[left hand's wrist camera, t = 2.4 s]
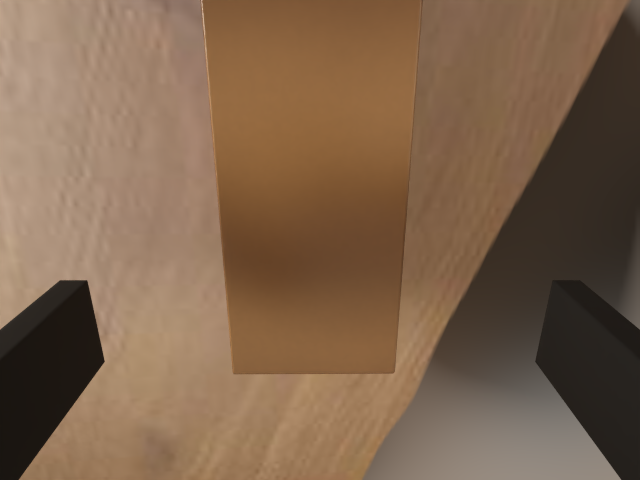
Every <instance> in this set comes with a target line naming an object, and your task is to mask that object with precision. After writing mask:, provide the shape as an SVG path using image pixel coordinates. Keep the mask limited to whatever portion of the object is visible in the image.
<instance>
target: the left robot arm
mask: <svg viewBox="0 0 640 480" xmlns="http://www.w3.org/2000/svg"><path fill="white" fill-rule="evenodd" d="M104 362H105V361H104V356H103V352H102V347H101V342H100V338H99V333H98V328H97V324H96V319H95V314H94V310H93V305H92V300H91V296H90V291H89V286H88V282H87V280H60V281H59V282H58V283H56V284H55V285H54V286H53V287H52V288H50V289H49V290H48V291H47V292H45V293H44V294H43V295H42V296H41V297H39V298H38V299H37V300H36V301H35V302H33V303H32V304H31V305H30V306H28V307H27V308H26V309H25V310H24V311H22V312H21V313H20V314H19V315H18V316H16V317H15V318H14V319H13V320H11V321H10V322H9V323H8V324H7V325H5V326H4V327H3V328H2V329H1V330H0V480H19V478H20V477H21V476H22V474H23V473H24V472H25V470H26V469H27V467H28V466H29V465H30V463H31V462H32V461H33V459H34V458H35V456H36V455H37V454H38V452H39V451H40V450H41V448H42V447H43V445H44V444H45V443H46V441H47V440H48V439H49V437H50V436H51V435H52V433H53V432H54V430H55V429H56V428H57V426H58V425H59V424H60V422H61V421H62V419H63V418H64V417H65V415H66V414H67V413H68V411H69V410H70V408H71V407H72V406H73V404H74V403H75V402H76V400H77V399H78V398H79V396H80V395H81V393H82V392H83V391H84V389H85V388H86V387H87V385H88V384H89V382H90V381H91V380H92V378H93V377H94V376H95V374H96V373H97V371H98V370H99V369H100V367H101V366H102V365H103V363H104ZM535 362H536V363H537V365H538V366H539V367H540V369H541V370H542V371H543V373H544V374H545V376H546V377H547V378H548V380H549V381H550V382H551V384H552V385H553V386H554V388H555V389H556V391H557V392H558V393H559V395H560V396H561V397H562V399H563V400H564V402H565V403H566V404H567V406H568V407H569V408H570V410H571V411H572V413H573V414H574V415H575V417H576V418H577V419H578V421H579V422H580V424H581V425H582V426H583V428H584V429H585V430H586V432H587V433H588V435H589V436H590V437H591V439H592V440H593V441H594V443H595V444H596V445H597V447H598V448H599V450H600V451H601V452H602V454H603V455H604V456H605V458H606V459H607V461H608V462H609V463H610V465H611V466H612V467H613V469H614V470H615V472H616V473H617V474H618V476H619V477H620V478H621V480H640V330H639V329H638V328H637V327H636V326H635V325H633V324H632V323H631V322H630V321H629V320H627V319H626V318H625V317H624V316H622V315H621V314H620V313H619V312H618V311H616V310H615V309H614V308H613V307H612V306H610V305H609V304H608V303H607V302H605V301H604V300H603V299H602V298H601V297H599V296H598V295H597V294H596V293H595V292H593V291H592V290H591V289H590V288H588V287H587V286H586V285H585V284H584V283H582V282H581V281H580V280H575V281H574V280H554V281H553V282H552V286H551V291H550V296H549V300H548V305H547V310H546V314H545V319H544V324H543V328H542V333H541V338H540V342H539V347H538V352H537V356H536V361H535Z"/></svg>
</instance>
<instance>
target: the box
mask: <svg viewBox="0 0 640 480" xmlns="http://www.w3.org/2000/svg"><path fill="white" fill-rule="evenodd" d="M422 3H423V0H201V11H202V23H203V34H204V46H205V57H206V69H207V80H208V92H209V103H210V115H211V127H212V138H213V150H214V161H215V173H216V184H217V196H218V207H219V219H220V230H221V242H222V253H223V265H224V277H225V288H226V300H227V311H228V323H229V334H230V346H231V357H232V369H233V374H373V373H394V372H395V362H396V349H397V335H398V322H399V309H400V296H401V282H402V269H403V256H404V242H405V229H406V216H407V202H408V189H409V176H410V162H411V149H412V136H413V123H414V109H415V96H416V83H417V69H418V56H419V43H420V29H421V16H422Z"/></svg>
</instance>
